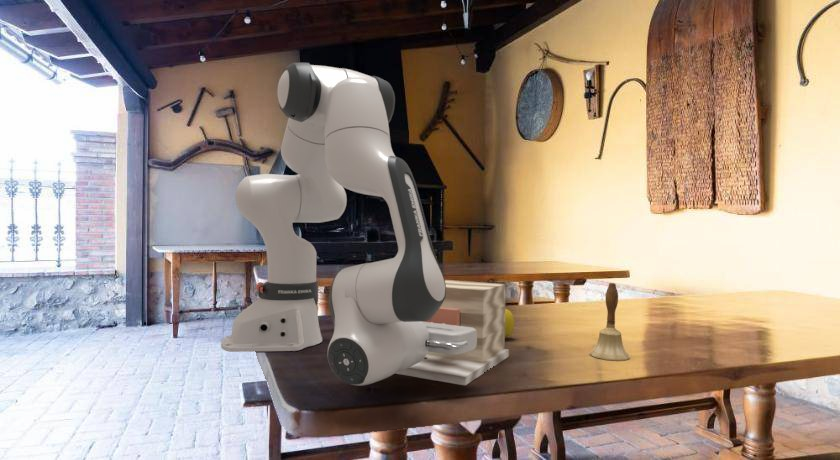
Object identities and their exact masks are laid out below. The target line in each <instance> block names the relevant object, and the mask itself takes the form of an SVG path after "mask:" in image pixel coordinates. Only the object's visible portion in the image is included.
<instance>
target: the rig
mask: <svg viewBox="0 0 840 460" xmlns="http://www.w3.org/2000/svg"><path fill="white" fill-rule="evenodd" d="M444 280H445V284H446V296H445V299H444V301H443V303H442V305H441V307H443V308H453V309H460V312H461V324H460V326H465V327H472V328H475V329H476V331H477V346H476V348H475V349H473V350H471V351H468V352H465V353H462V354H455V355H452V354H443V353H436V352H429V351H428V353H427V355H426V356H425V358H424V359H423V360H422V361H421V362H419V363H417V364H415V365H413V366H411V367H409V368H406V369H404V370H402V371H398V372H395V373H394V374H397V375H403V376H406V377H407V376H409V377H412V378H419V379H425V380H430V381H438V382H443V383H448V384H453V385H459V386H467V385H468V384H470V383H472V382H473V381H474V380H475V379H477V378H479V377H481V376H482V375H484V374H485V373H487V372H488V371H490V370H491V369H493V366H494V367H495V366H497V365H499V364H500V363H501V362H503V361H504V360H506V359H507V358H509V357H510V349H507V348H505V343H506V340H505V339H506V337H505V308H506V283H495V282H494V283H493V282H484V281H483V282H482V281H480V282H479V281H467V280H466V281H465V280H453V279H444ZM422 322H423V321H422ZM490 368H491V369H490ZM487 370H488V371H487ZM484 372H485V373H484Z"/></svg>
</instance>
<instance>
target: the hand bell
mask: <svg viewBox="0 0 840 460" xmlns="http://www.w3.org/2000/svg"><path fill="white" fill-rule="evenodd" d="M618 302H619V292H618V290H617V283H616V282H615V283H614V282H609V283H608V287H607V289H606V291H605V306H606V309H607V311H606V312H607V315H606V317H607V318H606V320H607V321H606V327H605V328H603V329H601V330H600V331H599V333H598V339H597V342H596V345H595V346H594V348H592V349H591V350H590V352H589V355H590V356H591V357H593V358H597V359H599V360H605V361H616V362H621V361H623V362H625V361H628V360H630V359H631V356H630V354H629V353H628V352H627V350H626V349H625V346H624V344H623V338H622V332H621V331H619V330H618V329H616V309H617V307H618Z"/></svg>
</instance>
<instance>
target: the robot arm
mask: <svg viewBox="0 0 840 460" xmlns="http://www.w3.org/2000/svg"><path fill="white" fill-rule="evenodd" d="M276 89H277V91H276V92H277V99H278V106H279V109H280V110H281V112H282V113H283V115H284V116H285V117H287V118H288V119H287V123H286V128H285V129H284V130H285V131H284V134H283V138H282V143H281V146H280V154H281V158H282V160H283V162H284V163H285V165H286V166H287V167H288V168H289V169H291V171H292V172H295V173H296V174H294V175H292V174H291V175H289V174H277V173H276V174H275V173H273V174H272V173H262V174H254V175H252V174H251V175H247V176H244V178H242V180H241V181H240V182H239V183H238V186H236V190H235V194H234V195H235V196H234V199H235V200H234V201H235V205H236V207H237V208H236V209H237V210H238V211H239V214H240V215H241V216H243V218H244V219H246V220H247V221H248V222H250V223H251V224H252V225H253V227H255V228H256V229H257V231H258V232H259V234H260V236H261V238H262V239H263V243H264V245H265V249H266V250H265V251H266V259H267V281H265V282H263V281H260V282H258V283H257V284H256V286H255V289H256V291H257V293H258V295H257V296H258V298H257V300H255V301H253V302H252V303H251V304H250V305H249V306H247V307H246V308H244V310H242V311H241V312H240V313H239V314H237V316H236V317H235V319H234V321H233V323H232V328H231V333H230V335H227V336H225V337H224V338H222V340H221V346H220V347H221V349H222V350H224V351H225V352H229V353H231V352H232V353H241V352H242V353H243V352H244V353H245V352H247V353H248V352H251V353H252V352H291V351H292V352H296V351H300V350H303V349H305V348H308V347H312V346H316V345H318V344H320V343H322V342H323V335H322V333H321V329H320V324H319V316H318V303H319V282H318V281H317V254H318V253H317V251H316V248H315V246H314V245H313V244H312V243H311V241H308V240H306V239H305V238H302V237H301V236H299V235H297V234H296V231H294V227H293V226H294V225H293V223H304V224H305V223H310V224H311V223H312V224H313V223H315V224H316V223H318V224H319V223H325V222H330V221H335V220H338V219H340V218H341V216H342V215H343V214H344V212H345V210H346V207H347V202H348V201H347V200H348V199H347V193H346V190H349V191H352V192H354V193H357V194H362V195H367V196H373V197H378V198H379V197H380V198H383V200H384V201H385V202H386V204H387V206H388V209H389V214H390V217H391V222H392V223H391V224H392V226H393V232H394V236H395V239H396V243H397V244H396V245H397V253H396V255H395V256H394V257H393V258H387V259H383V260H378V261H373V262H366V263H360V264H357V265H352V266H347V267H343V268H341V269H340V270H339V271H337V273H336V274H335V276H334V278H333V279H332V282H331V283H330V287H329V292H328V307H329V308H328V309H329V314H330V317H331V320H332V323H333V325H334V327H333V329H334V330H333V333H332V337H331V339H330V341H329V344H328V346H327V361H328V364H329V365H328V366H329V367H330V370H331V371H332V373H334V375H335V376H336V377H337V378H338V379H339V380H341V381H342V382H344V383H346V384H348V385H352V386H357V387H359V386H368V385H371V384H374V383H377V382H380V381H382V380H385V379H387V378H390V377H392V376H393V375H394V374H395V372H398V371H402V370H404V369H406V368H409V367H411V366H413V365H415V364H417V363H419V362H421V361H422V360H423V359H424V358H425V356H426V355H427V353H428V351H429V352H436V353H443V354H452V355H455V354H462V353H465V352H468V351H471V350H473V349H475V348H476V346H477V331H476V329H475V328H472V327H465V326H456V325H448V324H445V323H436V322H422V321H428V320H429V319H431V318H432V317H433V316H434V314H435V313H436V312H437V311H438V310H439V308H440V307H441V305H442V303H443V301H444V299H445V296H446V284H445V280H446V279H445V277H444V273H443V271H442V268H441V266H440V262H439V260H438V259H437V255H436V253H435V251H434V250H435V249H434V246H433V244H432V239H431V236H430V232H429V228H428V224H427V220H426V216H425V212H424V209H423V205H422V202H421V198H420V194H419V191H418V187H417V183H416V180H415V178H414V175H413V172H412V171H411V168H410V167H409V165H408V163H407V162H406V161H405V160H404V159H403V158H400V157H398V156H396V155H395V153H394V151H393V148H392V143H391V136H390V135H391V134H390V127H389V123H390V122H391V121H392V117H393V115H394V112H395V107H396V106H395V104H396V95H395V91H394V90H393V87H392V85H391V84H390V82H388V81H387V80H384V79H383V78H381V77H379V76H376V75H372V76H371V75H368V74H365V73H364V72H363V73H362V72H359V71H357V70H353V69H348V68H345V67H342V68H341V67H340V68H339V67H334V66H327V65H318V64H317V65H316V64H315V65H314V64H310V62H291V63H290V64H289V65H287V66H286V67H285V68H284V70H283V71H282V75H281V76H280V78H279V79H278V84H277V88H276ZM345 189H346V190H345Z"/></svg>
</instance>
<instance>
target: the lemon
mask: <svg viewBox="0 0 840 460" xmlns="http://www.w3.org/2000/svg"><path fill="white" fill-rule="evenodd" d="M514 329H515V317H514V314H513V313H512V311H510V309H508V308H506V307H505V338H507V337H509V336H510V335H511V334H512V333H513V331H514Z"/></svg>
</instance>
